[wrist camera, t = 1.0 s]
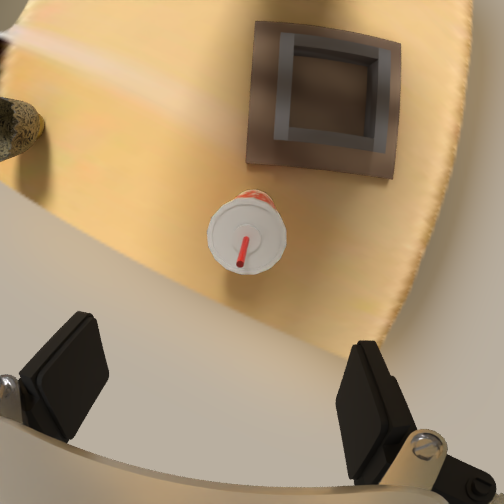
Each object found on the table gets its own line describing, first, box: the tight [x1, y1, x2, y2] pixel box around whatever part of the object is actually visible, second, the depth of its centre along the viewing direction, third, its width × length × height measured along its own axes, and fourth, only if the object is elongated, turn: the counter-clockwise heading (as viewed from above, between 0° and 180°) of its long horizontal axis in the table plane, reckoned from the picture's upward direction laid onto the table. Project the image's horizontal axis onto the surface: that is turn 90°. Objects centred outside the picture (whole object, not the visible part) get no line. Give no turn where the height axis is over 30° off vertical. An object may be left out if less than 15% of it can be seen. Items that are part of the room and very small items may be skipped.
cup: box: [0, 97, 44, 162], centre depth 26 cm, size 8×7×8 cm
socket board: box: [246, 21, 401, 180], centre depth 25 cm, size 15×15×4 cm
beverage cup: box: [207, 189, 286, 275], centre depth 25 cm, size 6×6×14 cm
